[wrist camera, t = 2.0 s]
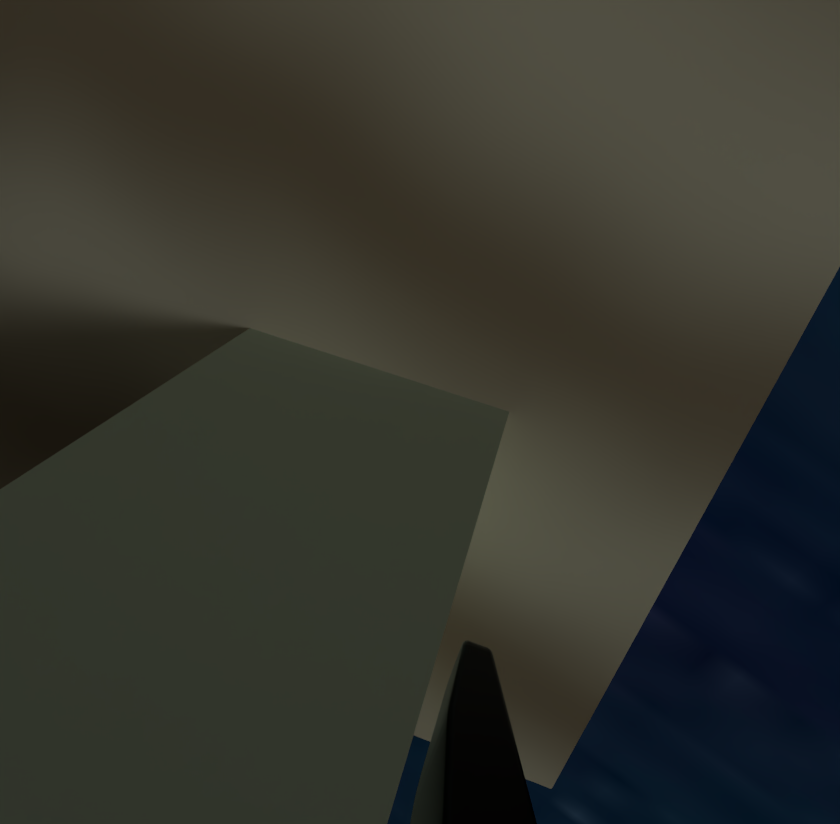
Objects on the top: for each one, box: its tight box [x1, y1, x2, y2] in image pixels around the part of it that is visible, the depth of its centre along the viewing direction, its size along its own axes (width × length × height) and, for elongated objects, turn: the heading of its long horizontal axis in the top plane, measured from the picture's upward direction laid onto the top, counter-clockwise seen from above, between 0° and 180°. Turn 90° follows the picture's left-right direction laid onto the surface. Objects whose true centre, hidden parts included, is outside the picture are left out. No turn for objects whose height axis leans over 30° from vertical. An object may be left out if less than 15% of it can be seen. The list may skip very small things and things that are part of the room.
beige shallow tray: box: [0, 0, 840, 789], centre depth 8 cm, size 19×16×2 cm
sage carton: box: [0, 328, 509, 824], centre depth 8 cm, size 4×7×7 cm, turn 166°
